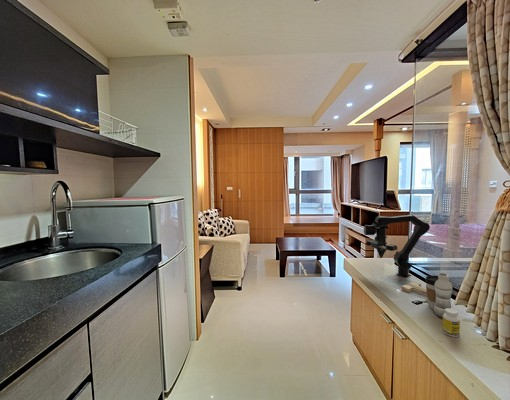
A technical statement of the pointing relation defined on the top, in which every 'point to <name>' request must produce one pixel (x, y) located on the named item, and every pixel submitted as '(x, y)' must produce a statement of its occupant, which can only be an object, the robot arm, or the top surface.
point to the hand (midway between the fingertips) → (381, 257)
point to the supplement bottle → (451, 322)
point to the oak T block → (414, 288)
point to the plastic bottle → (442, 294)
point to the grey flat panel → (400, 285)
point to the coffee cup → (431, 290)
